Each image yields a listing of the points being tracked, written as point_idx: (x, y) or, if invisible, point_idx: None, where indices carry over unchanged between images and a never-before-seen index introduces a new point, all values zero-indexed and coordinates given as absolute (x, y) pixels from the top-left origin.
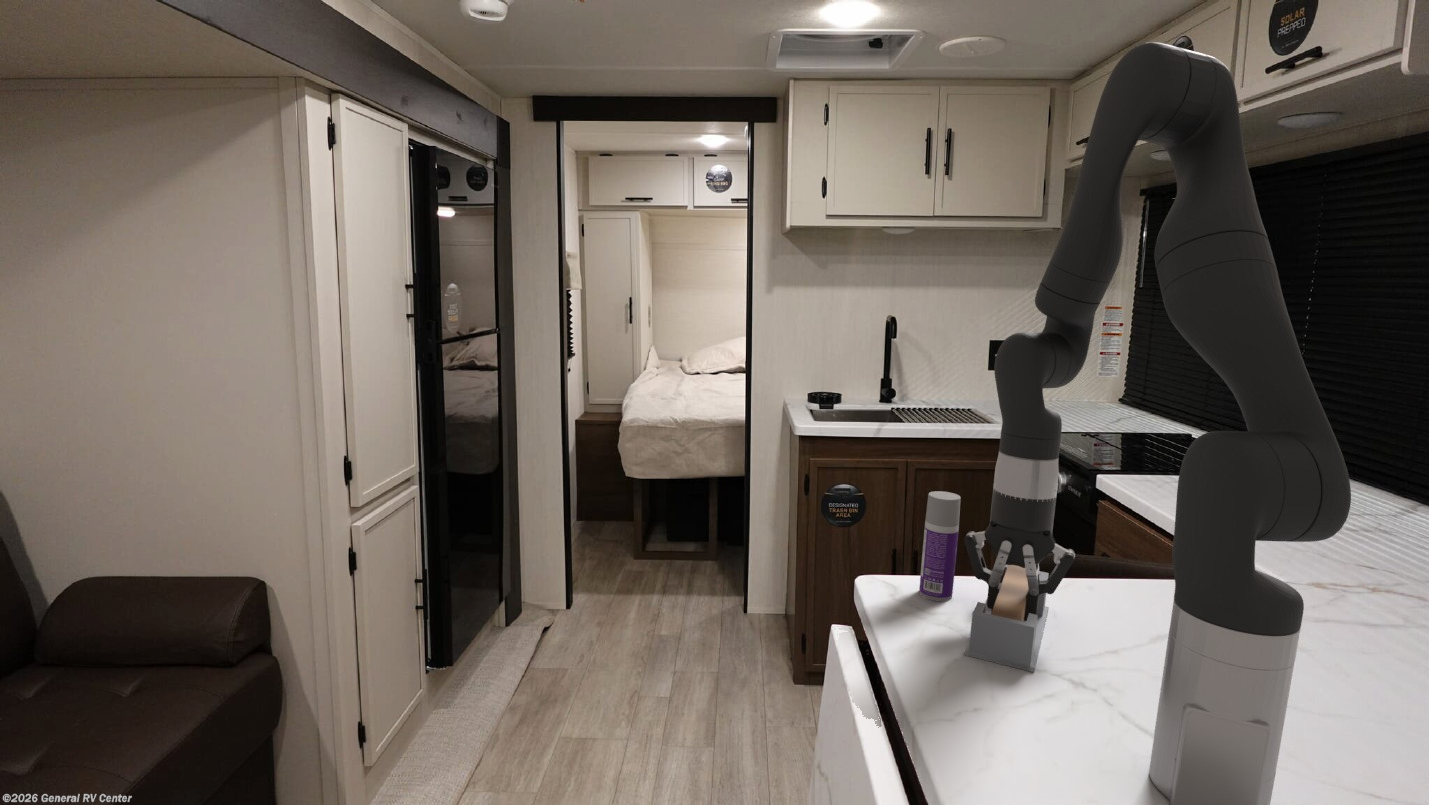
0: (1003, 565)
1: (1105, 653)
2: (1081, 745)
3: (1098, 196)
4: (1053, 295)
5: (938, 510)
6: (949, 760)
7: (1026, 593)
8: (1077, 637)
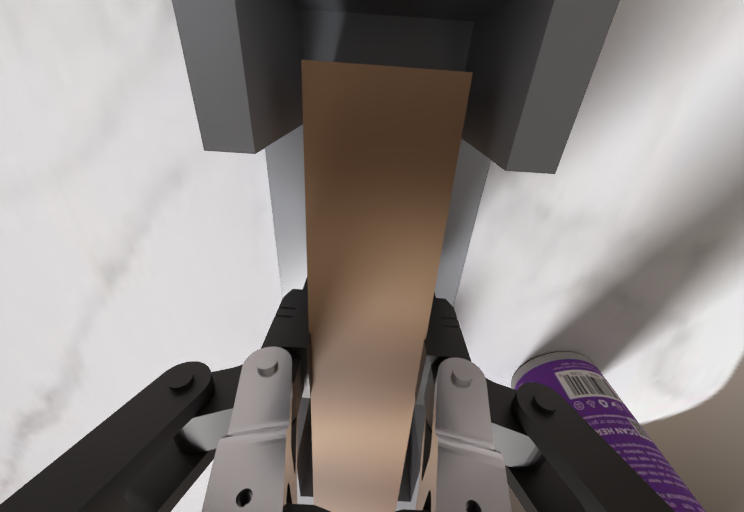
0: (445, 496)
1: (121, 254)
2: None
3: None
4: None
5: None
6: None
7: (314, 372)
8: (208, 309)
